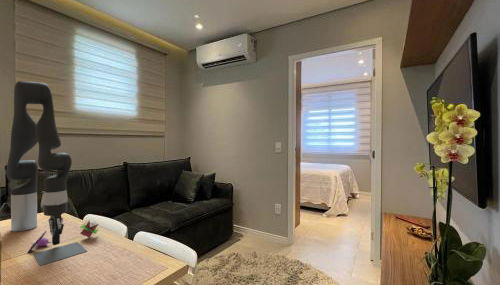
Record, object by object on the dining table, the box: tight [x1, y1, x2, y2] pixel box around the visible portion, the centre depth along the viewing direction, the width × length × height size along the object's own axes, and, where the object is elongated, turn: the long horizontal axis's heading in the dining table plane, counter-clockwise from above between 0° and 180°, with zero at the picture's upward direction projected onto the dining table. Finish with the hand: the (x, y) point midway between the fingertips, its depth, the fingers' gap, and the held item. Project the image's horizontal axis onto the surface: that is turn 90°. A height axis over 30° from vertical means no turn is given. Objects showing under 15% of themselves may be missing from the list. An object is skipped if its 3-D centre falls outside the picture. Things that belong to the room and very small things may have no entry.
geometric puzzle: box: [79, 219, 99, 238], centre depth 106 cm, size 7×7×8 cm
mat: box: [33, 241, 88, 267], centre depth 92 cm, size 13×14×1 cm
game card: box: [27, 230, 52, 254], centre depth 97 cm, size 7×5×9 cm
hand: (56, 244), depth 97 cm, fingers closed
